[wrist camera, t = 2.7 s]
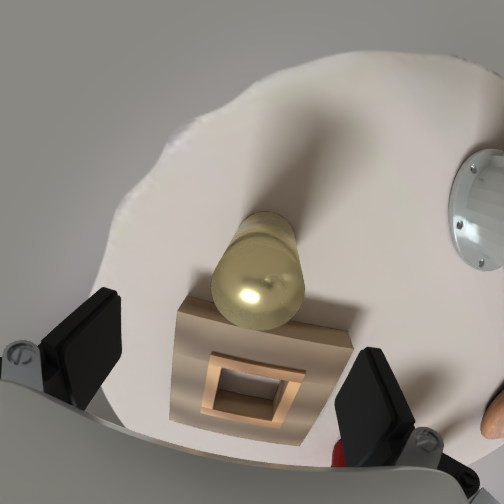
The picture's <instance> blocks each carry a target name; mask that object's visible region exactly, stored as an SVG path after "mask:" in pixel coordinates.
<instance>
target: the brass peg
mask: <svg viewBox="0 0 504 504" xmlns="http://www.w3.org/2000/svg"><path fill="white" fill-rule="evenodd" d="M211 293H212V298H213V301H214V303H215V305H216V307H217V308H218V310H219V311H220V313H221V314H222V315H223V316H224V317H225V318H226V319H227V320H229V321H230V322H232V323H233V324H235V325H237V326H239V327H242V328H245V329H249V330H258V331H261V330H269V329H273V328H277V327H279V326H281V325H283V324H285V323H286V322H288V321H289V320H290V319H291V318H292V317H293V316H294V315H295V314H296V313H297V312H298V310H299V308H300V307H301V305H302V302H303V299H304V293H305V284H304V279H303V274H302V270H301V265H300V260H299V255H298V250H297V246H296V241H295V237H294V232H293V230H292V228H291V226H290V224H289V223H288V222H287V221H286V220H285V219H284V218H283V217H281V216H280V215H278V214H275V213H272V212H258V213H255V214H252V215H250V216H249V217H247V218H246V219H245V220H244V221H243V222H242V223H241V225H240V226H239V228H238V230H237V232H236V233H235V235H234V237H233V239H232V240H231V242H230V244H229V246H228V247H227V249H226V251H225V253H224V254H223V256H222V258H221V260H220V261H219V263H218V265H217V267H216V268H215V271H214V273H213V276H212V280H211Z"/></svg>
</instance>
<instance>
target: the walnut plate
mask: <svg viewBox="0 0 504 504" xmlns="http://www.w3.org/2000/svg"><path fill="white" fill-rule="evenodd" d="M353 350H354V348H353V345H352V342H351V340H350V337H349V334H348V331H343V330H337V329H332V328H326V327H321V326H316V325H311V324H306V323H301V322H296V321H291V320H289V321H288V322H286V323H285V324H283V325H281V326H279V327H277V328H273V329H269V330H261V331H258V330H249V329H245V328H242V327H239V326H237V325H235V324H233V323H232V322H230V321H229V320H227V319H226V318H225V317H224V316H223V315H222V314H221V313H220V311H219V310H218V308H217V307H216V305H215V303H212V302H208V301H204V300H200V299H196V298H192V297H189V296H187V297H186V298H185V300H184V301H183V303H182V304H181V306H180V307H179V309H178V311H177V318H176V328H175V338H174V350H173V363H172V377H171V393H170V414H169V420H171V421H175V422H178V423H181V424H185V425H189V426H192V427H196V428H200V429H204V430H208V431H212V432H216V433H221V434H225V435H230V436H235V437H240V438H245V439H251V440H256V441H263V442H269V443H276V444H284V445H292V446H300V445H301V443H302V442H303V440H304V439H305V437H306V436H307V434H308V432H309V431H310V429H311V427H312V426H313V424H314V423H315V421H316V419H317V417H318V416H319V414H320V412H321V411H322V409H323V407H324V405H325V404H326V402H327V400H328V398H329V396H330V395H331V393H332V391H333V389H334V387H335V385H336V383H337V382H338V380H339V378H340V376H341V374H342V372H343V370H344V368H345V366H346V364H347V362H348V360H349V358H350V356H351V354H352V352H353ZM222 368H226V369H231V370H235V371H239V372H244V373H249V374H253V375H258V376H263V377H268V378H274V379H279V380H281V381H280V384H279V386H278V389H277V391H276V394H275V396H274V399H273V401H272V400H267V399H261V398H256V397H251V396H246V395H241V394H237V393H232V392H228V391H223V390H219V389H218V385H219V380H220V376H221V371H222Z"/></svg>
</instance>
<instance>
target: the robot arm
mask: <svg viewBox="0 0 504 504" xmlns="http://www.w3.org/2000/svg"><path fill="white" fill-rule="evenodd" d="M449 227H450V234H451V237H452V241H453V244H454V246H455V248H456V250H457V252H458V254H459V255H460V257H461V258H462V259H463V260H464V261H465V262H466V263H467V264H469V265H470V266H472V267H473V268H475V269H477V270H480V271H493V270H496V269H498V268H500V267H503V268H504V151H501V150H498V149H483V150H480V151H477V152H475V153H474V154H472V155H471V156H470V157H469V158H468V159H467V160H466V161H465V162H464V163H463V165H462V166H461V168H460V170H459V171H458V173H457V176H456V178H455V181H454V183H453V187H452V191H451V195H450V202H449ZM121 354H122V340H121V297H120V296H118V294H117V292H116V291H115V290H112V289H108V288H105V287H102V288H101V289H99V290H98V291H97V292H96V293H95V294H93V295H92V296H91V297H90V298H89V299H88V300H86V301H85V302H84V303H83V304H82V305H80V306H79V307H78V308H77V309H76V310H75V311H74V312H72V313H71V314H70V315H69V316H68V317H67V318H66V319H65V320H63V321H62V322H61V323H60V324H59V325H58V326H57V327H55V328H54V329H53V330H52V331H51V332H50V333H49V334H48V335H47V336H46V337H45V338H43V339H42V340H41V343H40V344H39V345H38V346H37V345H36V344H34V343H33V342H30V341H27V340H19V341H14V342H12V343H10V344H9V345H7V346H6V348H5V349H4V352H3V356H2V357H0V504H500V503H499V502H498V501H497V500H496V499H495V498H494V497H493V496H492V495H491V494H490V493H489V492H487V491H486V490H485V489H484V488H481V489H479V486H480V481H479V477H478V475H477V474H476V473H475V471H473V470H472V469H471V468H469V467H467V466H465V465H463V464H462V463H460V462H458V461H456V460H455V459H453V458H451V457H449V456H448V455H446V454H444V453H442V452H443V448H444V443H443V440H442V438H441V436H440V435H439V434H438V433H437V432H436V431H434V430H433V429H431V428H428V427H418V428H416V429H415V427H414V423H415V419H414V417H413V415H412V412H411V410H410V408H409V406H408V404H407V401H406V399H405V397H404V395H403V393H402V391H401V389H400V386H399V384H398V382H397V380H396V378H395V376H394V374H393V372H392V370H391V368H390V366H389V364H388V362H387V360H386V358H385V356H384V354H383V352H382V350H381V349H380V348H373V347H366V348H365V349H364V350H361V351H360V352H359V354H358V356H357V358H356V360H355V362H354V364H353V366H352V368H351V370H350V372H349V374H348V376H347V378H346V380H345V382H344V384H343V385H342V387H341V389H340V391H339V393H338V395H337V396H336V399H335V404H334V405H335V410H336V415H337V420H338V425H339V430H340V436H341V441H342V446H343V452H344V457H345V463H346V467H310V466H295V465H283V464H274V463H265V462H258V461H251V460H244V459H238V458H232V457H227V456H222V455H217V454H212V453H208V452H203V451H199V450H195V449H191V448H187V447H183V446H179V445H176V444H172V443H169V442H165V441H162V440H159V439H155V438H152V437H149V436H146V435H143V434H140V433H137V432H134V431H132V430H129V429H126V428H124V427H121V426H118V425H116V424H113V423H111V422H108V421H106V420H103V419H101V418H98V417H96V416H94V415H91V414H89V413H87V412H85V411H84V410H85V409H86V407H87V406H88V404H89V403H90V401H91V400H92V398H93V397H94V395H95V394H96V392H97V391H98V389H99V388H100V386H101V385H102V383H103V382H104V380H105V379H106V377H107V376H108V375H109V373H110V372H111V370H112V369H113V367H114V366H115V364H116V363H117V362H118V360H119V359H120V357H121Z"/></svg>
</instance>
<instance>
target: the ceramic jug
mask: <svg viewBox="0 0 504 504" xmlns="http://www.w3.org/2000/svg"><path fill="white" fill-rule="evenodd" d="M481 434H482V435H483V436H484V437H485V438H487V439H498V438H504V389H503V390H502V391H501V392H500V393H499V395H498V396H497V397H496V398H495V399H494V400H493V402H492V403H491V404H490V406H489V407H488V409H487V411H486V412H485V414H484V416H483V418H482V421H481Z"/></svg>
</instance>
